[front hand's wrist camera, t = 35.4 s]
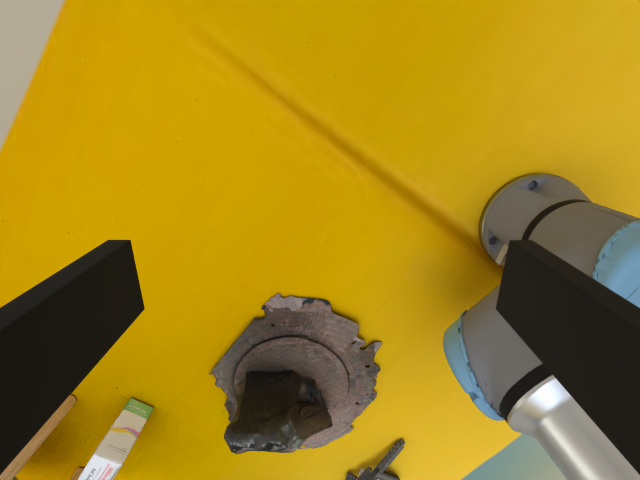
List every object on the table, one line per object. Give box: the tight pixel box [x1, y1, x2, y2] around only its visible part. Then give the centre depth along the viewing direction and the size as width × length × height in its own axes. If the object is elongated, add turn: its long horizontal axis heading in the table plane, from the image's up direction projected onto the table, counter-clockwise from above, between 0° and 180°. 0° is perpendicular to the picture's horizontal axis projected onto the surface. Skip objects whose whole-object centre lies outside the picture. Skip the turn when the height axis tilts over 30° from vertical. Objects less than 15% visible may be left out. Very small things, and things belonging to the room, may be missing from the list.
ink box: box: [78, 398, 153, 480], centre depth 61 cm, size 9×5×15 cm, turn 146°
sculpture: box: [209, 294, 382, 454], centre depth 58 cm, size 33×35×16 cm
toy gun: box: [345, 439, 405, 480], centre depth 72 cm, size 17×8×10 cm
